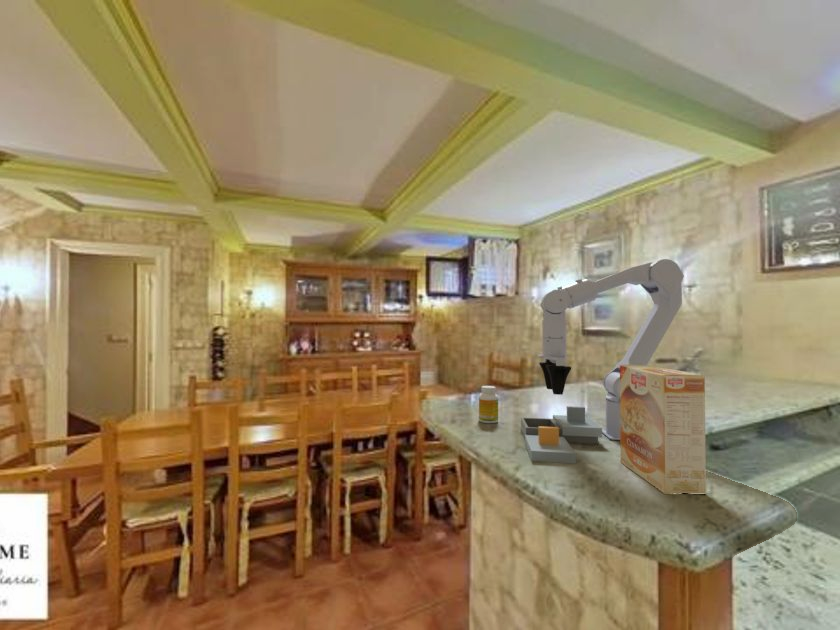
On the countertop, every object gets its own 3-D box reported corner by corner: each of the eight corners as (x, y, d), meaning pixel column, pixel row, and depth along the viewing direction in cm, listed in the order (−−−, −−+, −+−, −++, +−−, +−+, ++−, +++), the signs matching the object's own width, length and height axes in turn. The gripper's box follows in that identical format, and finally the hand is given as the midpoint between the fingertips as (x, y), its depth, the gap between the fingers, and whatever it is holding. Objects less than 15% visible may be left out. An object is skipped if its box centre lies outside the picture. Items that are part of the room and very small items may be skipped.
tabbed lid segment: (563, 445, 88) (563, 421, 88) (576, 463, 77) (575, 436, 77) (524, 443, 89) (524, 420, 89) (531, 460, 78) (531, 433, 78)
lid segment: (562, 435, 89) (562, 411, 89) (552, 422, 100) (552, 401, 100) (602, 437, 88) (602, 413, 88) (587, 424, 99) (587, 403, 99)
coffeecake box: (618, 462, 78) (618, 364, 78) (654, 462, 77) (654, 364, 78) (663, 494, 63) (662, 373, 63) (708, 495, 62) (707, 374, 63)
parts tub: (585, 432, 99) (585, 420, 99) (597, 444, 89) (597, 430, 89) (520, 429, 101) (520, 417, 101) (525, 441, 91) (526, 427, 91)
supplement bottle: (498, 424, 107) (498, 388, 107) (478, 423, 108) (478, 387, 108) (498, 419, 112) (498, 385, 112) (479, 418, 113) (479, 384, 113)
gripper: (533, 337, 107) (533, 386, 106) (543, 339, 92) (543, 396, 92) (559, 337, 106) (560, 387, 106) (574, 339, 91) (574, 397, 91)
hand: (554, 391), depth 99 cm, fingers open, 7 cm apart
